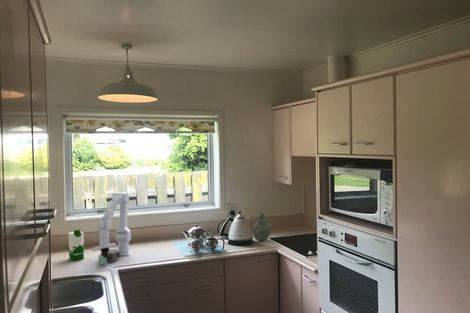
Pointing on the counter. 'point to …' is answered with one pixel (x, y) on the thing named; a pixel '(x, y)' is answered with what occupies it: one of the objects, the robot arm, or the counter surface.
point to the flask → (261, 229)
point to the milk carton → (76, 245)
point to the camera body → (112, 255)
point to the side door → (102, 260)
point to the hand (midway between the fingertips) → (104, 259)
